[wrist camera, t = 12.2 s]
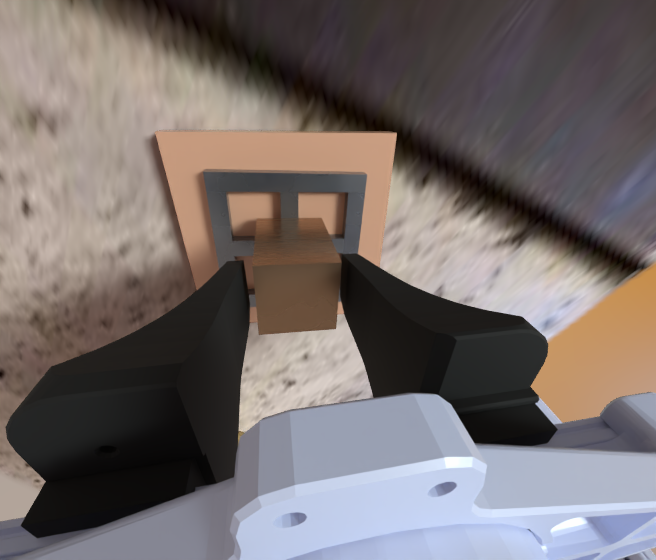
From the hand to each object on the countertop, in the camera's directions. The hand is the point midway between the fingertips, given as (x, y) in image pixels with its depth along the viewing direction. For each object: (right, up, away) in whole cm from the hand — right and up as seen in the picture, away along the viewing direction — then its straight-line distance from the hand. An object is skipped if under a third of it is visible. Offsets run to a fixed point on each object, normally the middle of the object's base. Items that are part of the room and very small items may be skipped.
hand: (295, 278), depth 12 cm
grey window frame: (-1, +2, +3) cm, 4 cm away
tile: (-1, +2, +4) cm, 4 cm away
